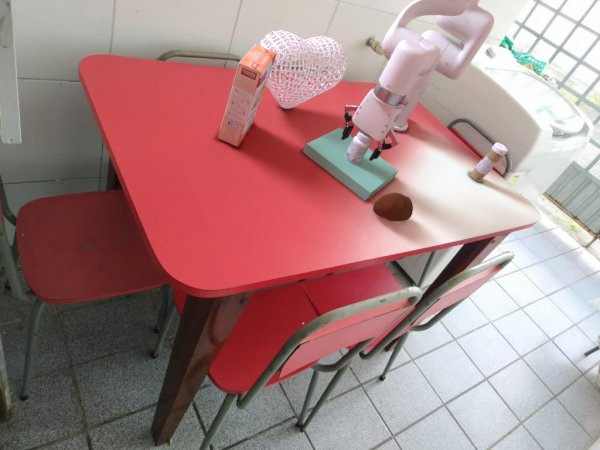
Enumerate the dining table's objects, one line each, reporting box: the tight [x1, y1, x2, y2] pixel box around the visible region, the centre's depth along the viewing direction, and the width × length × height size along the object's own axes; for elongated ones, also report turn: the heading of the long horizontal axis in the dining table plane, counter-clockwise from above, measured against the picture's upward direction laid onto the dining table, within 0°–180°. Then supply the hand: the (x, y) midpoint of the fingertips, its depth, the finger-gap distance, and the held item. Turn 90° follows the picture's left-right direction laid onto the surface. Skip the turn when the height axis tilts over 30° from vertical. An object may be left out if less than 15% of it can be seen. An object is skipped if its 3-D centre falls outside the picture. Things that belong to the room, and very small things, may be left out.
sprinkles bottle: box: [469, 142, 508, 183], centre depth 134 cm, size 5×5×13 cm
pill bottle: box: [345, 129, 373, 164], centre depth 110 cm, size 5×5×8 cm
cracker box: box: [217, 43, 278, 148], centre depth 101 cm, size 14×6×21 cm, turn 168°
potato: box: [372, 191, 414, 222], centre depth 103 cm, size 8×12×8 cm, turn 110°
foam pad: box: [302, 127, 399, 202], centre depth 115 cm, size 18×22×3 cm
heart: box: [258, 29, 348, 110], centre depth 118 cm, size 28×16×22 cm, turn 123°
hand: (358, 148), depth 111 cm, fingers open, 9 cm apart
